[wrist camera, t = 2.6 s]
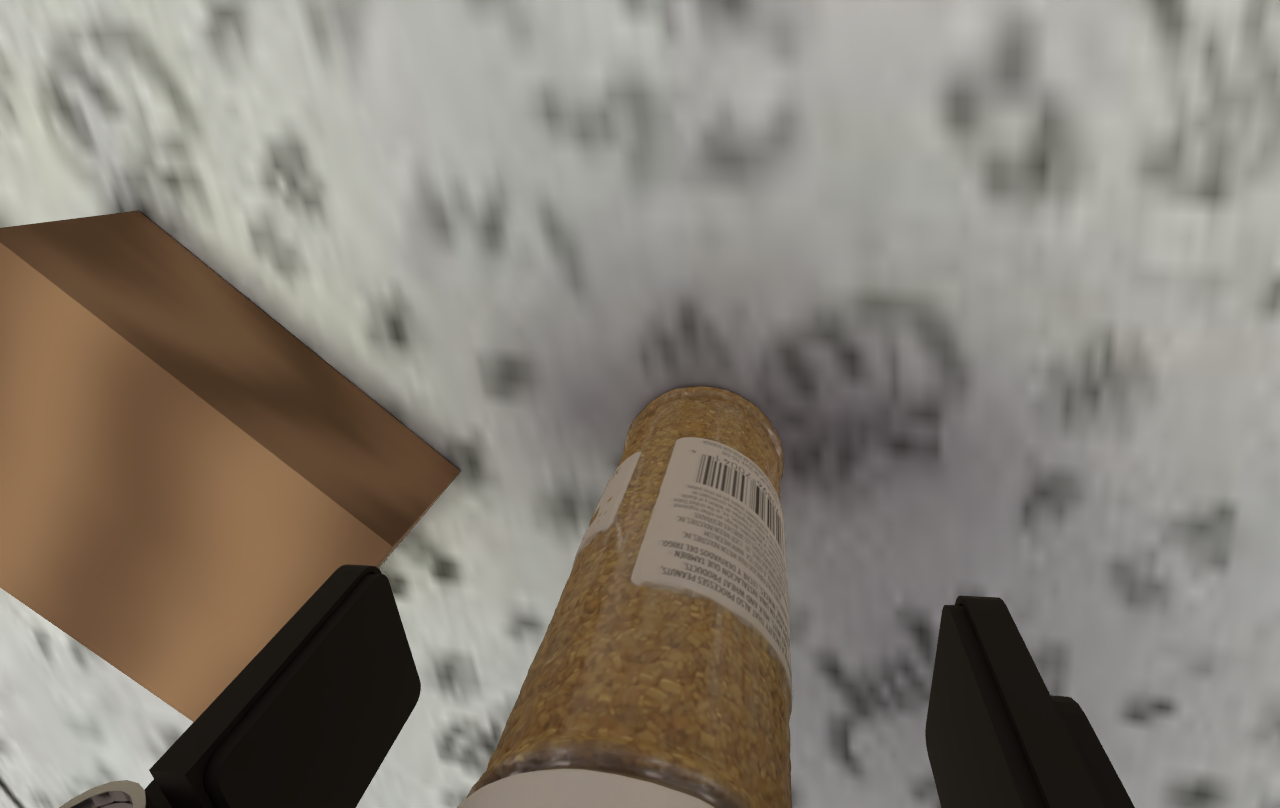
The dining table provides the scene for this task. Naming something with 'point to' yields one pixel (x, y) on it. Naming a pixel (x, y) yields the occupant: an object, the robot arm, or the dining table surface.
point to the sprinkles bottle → (665, 631)
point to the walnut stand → (179, 457)
